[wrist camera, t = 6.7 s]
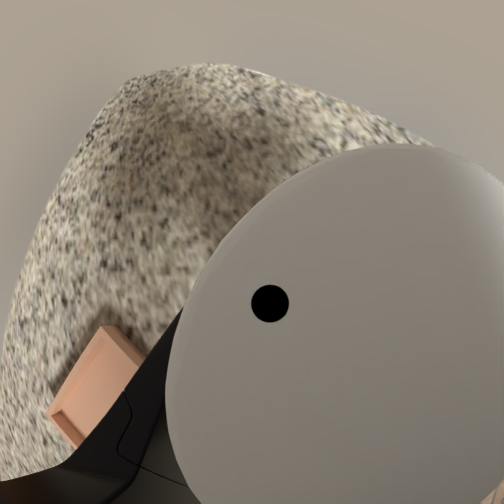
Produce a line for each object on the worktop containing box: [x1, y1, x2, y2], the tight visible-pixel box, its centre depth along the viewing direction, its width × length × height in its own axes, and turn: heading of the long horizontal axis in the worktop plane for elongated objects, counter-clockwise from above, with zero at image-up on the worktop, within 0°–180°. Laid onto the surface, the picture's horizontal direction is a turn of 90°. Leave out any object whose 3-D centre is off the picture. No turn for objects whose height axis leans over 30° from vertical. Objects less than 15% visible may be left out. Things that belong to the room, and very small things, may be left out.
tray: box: [46, 325, 146, 450], centre depth 19 cm, size 13×13×2 cm
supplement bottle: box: [165, 144, 504, 504], centre depth 8 cm, size 7×7×13 cm
